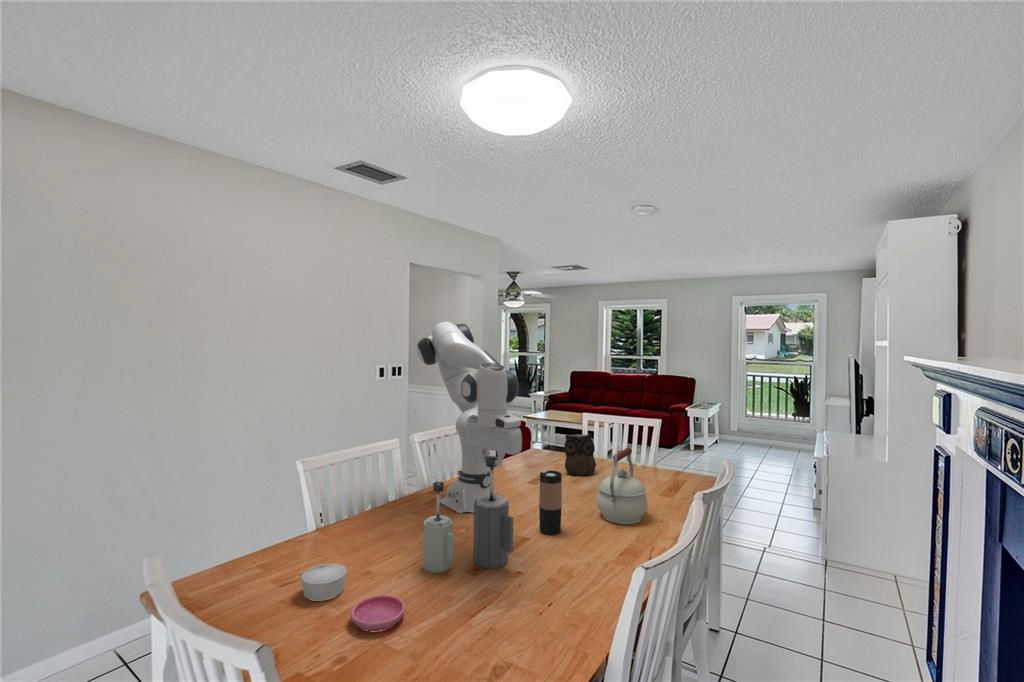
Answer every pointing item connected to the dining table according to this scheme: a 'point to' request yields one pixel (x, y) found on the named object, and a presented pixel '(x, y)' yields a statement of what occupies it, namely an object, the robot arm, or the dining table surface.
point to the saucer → (378, 612)
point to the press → (492, 532)
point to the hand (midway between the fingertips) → (492, 464)
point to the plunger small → (438, 495)
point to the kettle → (622, 494)
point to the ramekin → (323, 581)
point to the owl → (579, 455)
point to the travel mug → (550, 502)
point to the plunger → (491, 474)
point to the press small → (438, 544)
